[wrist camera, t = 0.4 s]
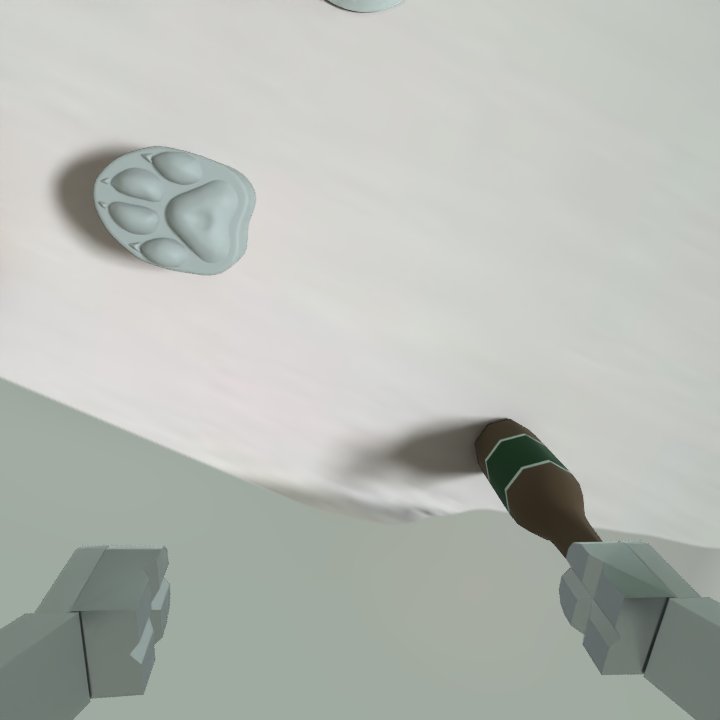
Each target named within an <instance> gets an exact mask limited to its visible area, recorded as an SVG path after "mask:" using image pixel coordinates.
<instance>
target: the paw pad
mask: <svg viewBox="0 0 720 720" xmlns="http://www.w3.org/2000/svg"><path fill="white" fill-rule="evenodd" d="M93 199H94V204H95V208H96V210H97V213H98V215H99V217H100V219H101V221H102V222H103V224H104V226H105V227H106V229H107V230H108V232H109V233H110V234H111V235H112V236H113V237H114V238H115V239H116V240H117V241H118V242H119V243H120V244H121V245H122V246H123V247H125V248H126V249H127V250H128V251H129V252H131V253H132V254H133V255H135V256H136V257H137V258H139V259H141V260H143V261H145V262H148V263H151V264H154V265H156V266H159V267H163V268H166V269H170V270H174V271H179V272H185V273H192V274H198V275H216V274H219V273H222V272H224V271H226V270H228V269H229V268H230V267H232V266H233V265H234V264H235V263H236V262H237V261H238V260H239V259H240V258H241V257H242V256H243V255H244V253H245V251H246V249H247V243H248V226H249V222H250V219H251V216H252V213H253V211H254V208H255V203H256V194H255V190H254V188H253V186H252V184H251V183H250V181H249V180H248V179H247V178H246V177H245V176H244V175H243V174H242V173H240V172H239V171H237V170H235V169H233V168H231V167H229V166H226V165H224V164H221V163H218V162H216V161H213V160H211V159H208V158H205V157H203V156H200V155H197V154H194V153H190V152H187V151H183V150H179V149H174V148H169V147H162V146H153V147H148V148H143V149H139V150H136V151H133V152H130V153H127V154H124V155H122V156H120V157H118V158H116V159H115V160H113V161H112V162H111V163H110V164H108V165H107V166H106V167H105V168H104V169H103V170H102V172H101V173H100V174H99V175H98V177H97V179H96V181H95V183H94V188H93Z"/></svg>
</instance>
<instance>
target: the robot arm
mask: <svg viewBox="0 0 720 720" xmlns="http://www.w3.org/2000/svg"><path fill="white" fill-rule="evenodd" d="M328 1H330V2H331V3H333V4H335V5H337V6H340V7H342V8H345V9H348V10H352V11H358V12H375V11H380V10H384V9H387V8H390V7H392V6H395V5H397V4H398V3H400V2H402V1H403V0H328ZM167 552H168V551H167V548H166V547H165V546H136V545H135V546H134V545H133V546H132V545H111V546H107V545H82V546H81V547H79V548H78V549H76V550H75V552H74V553H73V555H72V556H71V558H70V559H69V561H68V562H67V564H66V566H65V567H64V568H63V570H62V572H61V573H60V575H59V576H58V578H57V579H56V581H55V582H54V584H53V585H52V587H51V588H50V590H49V592H48V593H47V595H46V596H45V598H44V599H43V601H42V602H41V604H40V605H39V607H38V608H37V610H36V611H35V613H30V614H24V615H22V616H21V617H19V618H17V619H16V620H14V621H13V622H11V623H10V624H8V625H6V626H5V627H3V628H2V629H0V720H73V719H74V718H75V717H76V716H77V715H78V714H79V713H80V712H81V711H82V710H83V709H84V708H85V707H86V706H87V705H88V703H89V702H90V699H91V698H103V697H118V696H132V695H143V694H144V691H145V689H146V686H147V683H148V680H149V677H150V674H151V671H152V668H153V665H154V661H155V648H154V645H155V644H156V643H157V642H158V641H159V640H160V639H161V638H162V637H163V634H164V630H165V627H166V624H167V618H168V613H169V606H170V583H169V582H168V581H167V580H166V579H165V578H164V575H165V572H166V570H167V567H168V564H169V562H168V553H167ZM566 559H567V561H568V563H569V565H570V568H569V569H568V570H567V571H566V572H565V573H564V574H563V575H562V577H561V582H560V587H559V594H560V603H561V606H562V609H563V612H564V615H565V616H566V618H567V620H568V621H569V623H570V625H571V626H573V627H574V628H575V629H577V630H579V631H580V632H581V633H583V634H584V638H583V646H584V647H585V649H586V651H587V652H588V654H589V656H590V657H591V659H592V660H593V662H594V664H595V665H596V666H597V668H598V670H599V671H600V673H601V675H618V674H619V675H620V674H621V675H623V674H644V677H645V678H646V679H647V680H648V681H649V682H651V683H652V684H653V685H655V686H656V687H657V688H658V689H659V690H660V691H662V692H663V693H664V694H665V695H666V696H668V697H669V698H670V699H671V700H672V701H674V702H675V703H676V704H677V705H679V706H680V707H681V708H682V709H683V710H685V711H686V712H687V713H688V714H690V715H691V716H692V717H693V718H694V719H695V720H720V603H719V602H717V601H715V600H713V599H711V598H709V597H701V596H700V595H699V594H698V593H697V592H696V591H695V590H694V589H693V588H692V587H691V586H690V585H689V584H688V583H687V582H686V581H685V580H684V579H683V578H682V577H681V576H680V575H679V574H678V573H677V572H676V571H675V570H674V569H673V568H672V567H671V566H670V565H669V564H668V563H667V562H666V561H665V560H664V559H663V558H662V557H661V556H660V555H659V554H658V553H657V552H656V551H655V550H654V549H653V548H652V547H651V546H650V545H649V544H648V543H646V542H643V541H641V540H635V541H634V540H633V541H618V542H573V543H572V544H571V546H570V547H569V548H568V552H567V556H566Z"/></svg>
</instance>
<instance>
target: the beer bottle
mask: <svg viewBox="0 0 720 720" xmlns="http://www.w3.org/2000/svg"><path fill="white" fill-rule="evenodd" d="M475 448H476V453H477V459H478V464H479V465H480V467H481V469H482V471H483V473H484V474H485V476H486V478H487V479H488V481H489V482H490V484H491V485H492V487H493V489H494V490H495V492H496V493H497V495H498V496H499V498H500V500H501V501H502V503H503V504H504V506H505V507H506V509H507V511H508V512H509V514H510V515H511V516H512V518H514V520H515V521H516V523H517V524H519V525H520V526H522V527H523V528H525V529H527V530H528V531H530V532H532V533H534V534H536V535H538V536H540V537H542V538H544V539H546V540H550V541H551V542H552V543H553V544H554V545H555V546H556V547H557V548H558V550H559V551H560V552H561V553H562V554H563V556H564V557H565V558H566V556H567V552H568V548H569V547H570V546H571V544H572V543H573V542H603V541H602V540H601V539H600V537H599V536H598V535H597V533H596V532H595V531H594V529H593V528H592V526H591V525H590V524H589V522H588V521H587V519H586V517H585V512H584V502H583V494H582V491H581V488H580V484H579V483H578V481H577V480H576V479H575V477H574V476H573V475H572V474H571V473H570V471H569V470H568V469H567V468H566V467H565V466H564V465H563V464H562V463H561V462H560V461H559V460H558V459H557V458H556V457H555V456H554V455H553V454H552V453H551V451H550V450H549V449H548V448H547V447H546V446H545V445H544V444H543V443H542V442H541V441H540V440H539V439H538V438H537V437H536V436H535V435H534V434H533V433H532V432H531V431H530V430H528V429H527V428H525V427H523V426H522V425H520V424H518V423H516V422H515V421H513V420H511V419H508V420H504V421H500V422H497V423H493V424H489V425H487V427H486V428H485V429H484V431H483V432H482V433H481V435H480V436H479V438H478V439H477V440H476V442H475Z"/></svg>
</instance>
